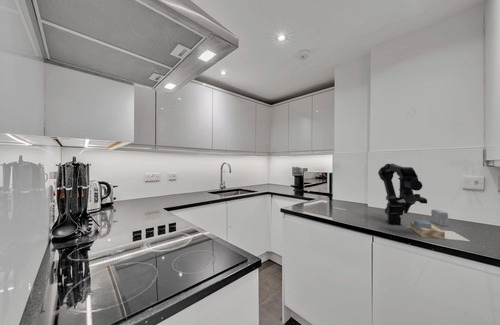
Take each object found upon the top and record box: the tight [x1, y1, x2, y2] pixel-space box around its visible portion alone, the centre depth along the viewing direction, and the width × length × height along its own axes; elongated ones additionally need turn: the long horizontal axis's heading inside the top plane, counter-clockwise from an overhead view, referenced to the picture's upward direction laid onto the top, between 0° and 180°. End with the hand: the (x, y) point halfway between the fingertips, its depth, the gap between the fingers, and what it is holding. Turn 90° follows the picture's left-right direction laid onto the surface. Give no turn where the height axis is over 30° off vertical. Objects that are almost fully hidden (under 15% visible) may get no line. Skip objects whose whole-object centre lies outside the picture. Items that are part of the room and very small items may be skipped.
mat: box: [441, 229, 471, 242], centre depth 108 cm, size 10×14×1 cm
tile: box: [413, 219, 432, 228], centre depth 112 cm, size 6×6×2 cm
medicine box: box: [430, 209, 449, 227], centre depth 127 cm, size 8×4×9 cm, turn 168°
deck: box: [410, 221, 446, 240], centre depth 112 cm, size 10×14×4 cm
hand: (405, 213), depth 115 cm, fingers closed
